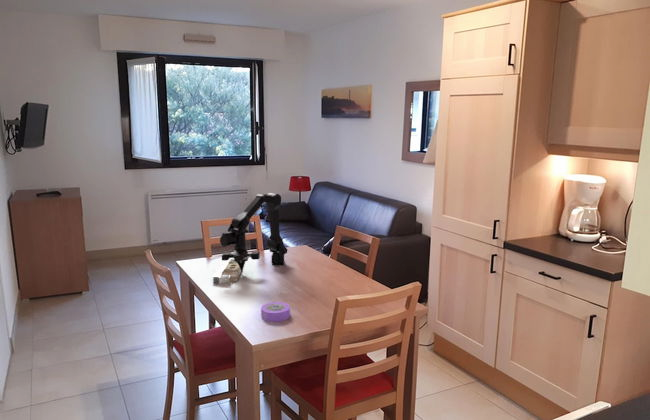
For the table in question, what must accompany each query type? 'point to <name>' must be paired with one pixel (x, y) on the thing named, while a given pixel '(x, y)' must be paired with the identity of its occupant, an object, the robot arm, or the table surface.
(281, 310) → the masking tape
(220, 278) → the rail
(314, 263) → the table surface
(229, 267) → the electrical outlet
